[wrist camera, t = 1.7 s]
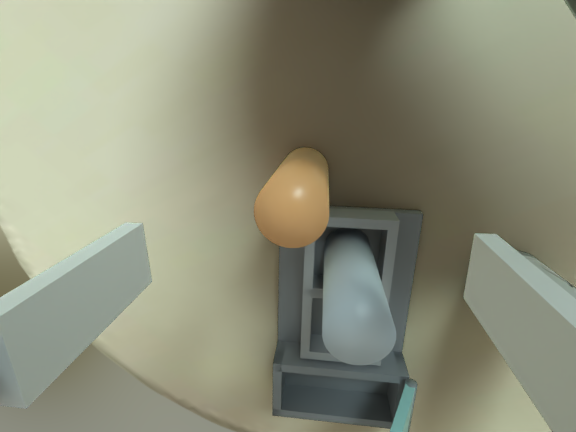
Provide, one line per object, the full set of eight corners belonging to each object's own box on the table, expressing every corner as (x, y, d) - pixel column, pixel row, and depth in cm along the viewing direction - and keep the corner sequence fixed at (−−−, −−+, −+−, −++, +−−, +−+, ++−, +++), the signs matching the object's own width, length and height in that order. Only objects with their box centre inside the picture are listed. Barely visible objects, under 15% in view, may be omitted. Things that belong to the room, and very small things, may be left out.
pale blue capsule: (325, 225, 30) (324, 300, 18) (372, 228, 29) (400, 307, 18) (322, 267, 31) (320, 361, 20) (367, 270, 30) (391, 368, 19)
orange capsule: (282, 146, 29) (253, 174, 18) (329, 148, 29) (331, 177, 17) (281, 192, 30) (254, 245, 19) (327, 194, 30) (327, 250, 18)
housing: (281, 202, 30) (274, 217, 26) (420, 209, 29) (434, 225, 25) (278, 381, 37) (272, 415, 33) (392, 393, 36) (400, 429, 32)
